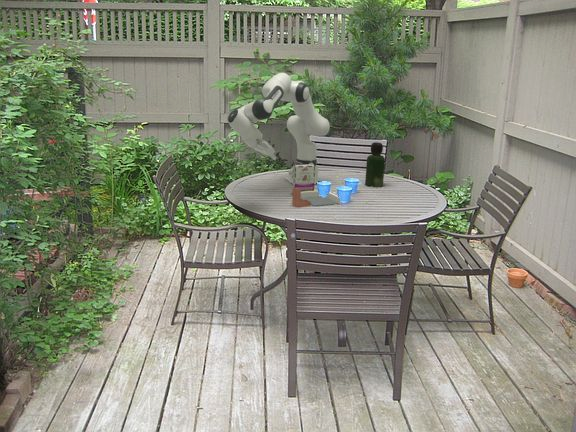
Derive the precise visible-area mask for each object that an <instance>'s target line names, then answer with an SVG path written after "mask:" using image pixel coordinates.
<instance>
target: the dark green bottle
mask: <svg viewBox="0 0 576 432" xmlns="http://www.w3.org/2000/svg"><path fill="white" fill-rule="evenodd" d="M383 148H384V146H383V143H381V142H378V141H376V142H375V141H374V142H372V143H371V145H370V152H371V154H370V155H368V156H367V157H366V167H365V181H364V184H365V186H367V187H370V186H373V187H372V188H380V187H379V186H381V187H383V186H384V176H385V165H386V164H385V162H386V159H385V156H383V155H381V154H383V152H384V151H383V150H384V149H383Z"/></svg>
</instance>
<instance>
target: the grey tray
mask: <svg viewBox="0 0 576 432" xmlns="http://www.w3.org/2000/svg"><path fill="white" fill-rule="evenodd" d="M338 196H339V195H337V194H335V193H333V192H331V191H329V193H328V195H327V198H329V199H331V200H333V201H335V202H337V203H339V204H338V205H341V204H342V201H341V202H340V199H339V197H340V196H339V197H338ZM307 197H319V193H318V190H314V191H304V192H301V198H307ZM340 203H341V204H340Z"/></svg>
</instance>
